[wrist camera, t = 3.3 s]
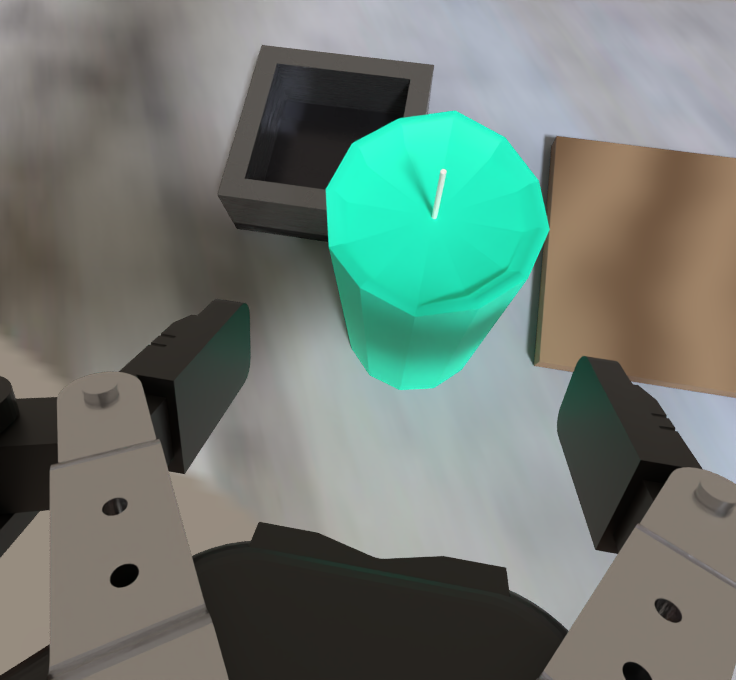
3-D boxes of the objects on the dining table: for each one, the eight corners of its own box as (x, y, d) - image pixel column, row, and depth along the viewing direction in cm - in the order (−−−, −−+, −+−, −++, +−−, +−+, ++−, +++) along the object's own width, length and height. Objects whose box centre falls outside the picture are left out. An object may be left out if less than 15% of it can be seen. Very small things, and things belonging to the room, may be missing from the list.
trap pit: (428, 110, 26) (434, 64, 23) (404, 252, 24) (407, 221, 21) (274, 91, 27) (261, 45, 24) (236, 228, 24) (217, 194, 22)
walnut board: (749, 171, 25) (761, 161, 24) (761, 402, 21) (776, 399, 20) (551, 146, 25) (556, 135, 24) (533, 365, 22) (539, 361, 21)
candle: (362, 260, 24) (346, 52, 12) (484, 282, 23) (585, 87, 12) (335, 377, 22) (286, 264, 11) (465, 403, 22) (561, 315, 10)
